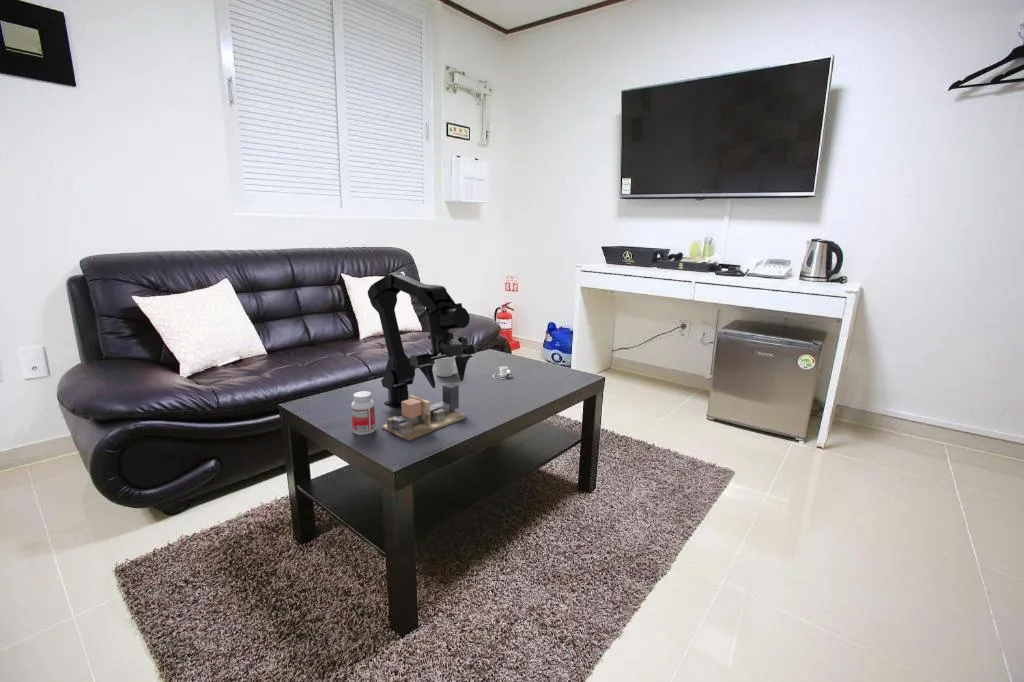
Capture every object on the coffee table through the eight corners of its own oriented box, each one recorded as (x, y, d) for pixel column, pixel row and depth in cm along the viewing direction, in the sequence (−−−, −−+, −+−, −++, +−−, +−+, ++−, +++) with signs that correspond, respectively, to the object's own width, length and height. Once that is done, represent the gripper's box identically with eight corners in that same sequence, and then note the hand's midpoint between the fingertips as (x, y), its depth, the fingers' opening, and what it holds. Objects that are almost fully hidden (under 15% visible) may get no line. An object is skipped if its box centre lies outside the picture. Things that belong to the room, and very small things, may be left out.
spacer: (401, 414, 135) (401, 401, 134) (412, 410, 138) (412, 397, 137) (410, 418, 133) (410, 405, 132) (421, 414, 136) (421, 401, 135)
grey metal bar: (392, 426, 133) (391, 401, 131) (450, 405, 150) (450, 382, 148) (400, 430, 131) (399, 404, 129) (458, 408, 148) (458, 385, 146)
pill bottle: (368, 424, 138) (366, 388, 135) (379, 431, 134) (378, 394, 131) (348, 430, 133) (346, 393, 131) (359, 437, 129) (357, 399, 127)
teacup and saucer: (504, 372, 191) (505, 362, 190) (518, 377, 186) (519, 367, 185) (488, 376, 185) (488, 366, 184) (502, 381, 180) (502, 371, 179)
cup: (449, 369, 192) (449, 350, 190) (464, 373, 187) (464, 353, 185) (430, 375, 183) (429, 355, 181) (445, 380, 179) (445, 359, 177)
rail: (381, 428, 136) (380, 401, 134) (439, 407, 152) (439, 383, 150) (408, 440, 128) (408, 413, 126) (466, 417, 145) (466, 392, 143)
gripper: (422, 335, 123) (432, 393, 124) (482, 324, 134) (490, 378, 135) (404, 336, 132) (413, 391, 133) (461, 326, 143) (469, 376, 144)
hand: (448, 384), depth 136 cm, fingers open, 9 cm apart
